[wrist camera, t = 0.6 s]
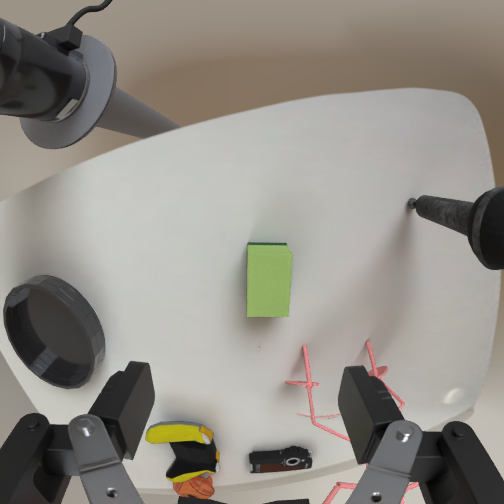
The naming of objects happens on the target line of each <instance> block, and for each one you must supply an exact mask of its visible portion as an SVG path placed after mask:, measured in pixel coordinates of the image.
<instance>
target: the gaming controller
mask: <svg viewBox="0 0 504 504" xmlns="http://www.w3.org/2000/svg"><path fill="white" fill-rule="evenodd" d="M212 437H213V432H212V431H211V430H209V429H207V428H206V427H204V426H203V425H202V424H197V423H192V422H184V421H175V422H159V423H157V424H154V425H152V426H150V427H149V429H148V430H147V432H146V437H145V440H146V441H148V442H150V443H152V444H156V443H166V442H169V443H170V445H171V447H172V449H173V451H174V453H175V455H176V458H175V460H174V462H173V463H172V465H171V466H170V467H169V469H168V470H167V472H166V477H167V479H169V480H170V481H172V482H174V483H176V482H184V481H186V480H189V479H191V478H193V477H196V476H198V475H200V474H203V473H205V472H210V473H216V472H219V471H220V468H219V465H218V462H219V452H218V451H217V450H216V447H215V444H214V441H213V438H212Z"/></svg>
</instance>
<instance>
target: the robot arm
mask: <svg viewBox="0 0 504 504" xmlns="http://www.w3.org/2000/svg"><path fill="white" fill-rule="evenodd" d="M111 1H112V0H105V1H104V2H103V3H102V4H101V5H99V6H88V7H86V8H84V9H82V10H80V11H79V12H77V13H76V14H75V15H74V16H73V17H72V18H71V19H70V21H69V22H68V23H67V24H66V26H64V27H61V28H58V29H55V30H53V31H50V32H42V33H39V34H37V35H34V34H32V33H30V32H28V31H26V30H24V29H22V28H20V27H18V26H16V25H14V24H12V23H10V22H8V21H6V20H4V19H2V18H0V115H8V116H15V117H22V118H28V119H35V120H39V121H44V122H48V123H58V122H61V121H64V120H66V119H67V118H69V117H70V116H72V115H73V114H74V113H75V112H76V111H77V110H78V108H79V107H80V106H81V104H82V103H83V101H84V99H85V97H86V95H87V92H88V88H89V83H90V74H89V70H88V67H87V65H86V64H85V62H84V61H83V54H82V53H80V52H78V51H77V50H75V49H78V48H80V44H81V39H82V32H81V31H80V30H79V29H78V28H76V27H75V26H74V24H75V23H76V21H77V20H78V19H79V18H80V17H82V16H83V15H84V14H86V13H88V12H98V11H101V10H103V9H104V8H106V7H107V6H108V5H109V4H110V3H111ZM154 400H155V391H154V386H153V381H152V375H151V370H150V365H149V363H145V362H136V361H130V362H129V364H128V366H127V367H126V369H125V371H118V372H116V373H115V374H114V375H112V376H111V377H110V378H109V380H108V381H107V383H106V384H105V386H104V388H103V389H102V391H101V393H100V394H99V396H98V397H97V399H96V401H95V402H94V404H93V406H92V407H91V409H90V411H89V412H88V414H84V415H80V416H77V417H75V418H74V419H72V420H71V422H70V423H69V425H55V424H50V423H49V421H48V419H47V418H46V417H45V416H44V415H42V414H39V413H31V414H27V415H25V416H24V417H22V418H21V419H20V420H19V422H18V423H17V425H16V426H15V428H14V429H13V430H12V432H11V434H10V435H9V436H8V438H7V440H6V441H5V443H4V444H3V446H2V447H1V449H0V504H61V502H62V499H63V497H64V494H65V492H66V489H67V487H68V484H69V482H70V479H71V476H80V479H81V481H82V484H83V487H84V490H85V492H86V495H87V497H88V500H89V502H90V504H144V502H143V501H142V499H141V497H140V495H139V494H138V492H137V490H136V488H135V487H134V485H133V483H132V481H131V479H130V477H129V475H128V474H127V472H126V470H125V468H124V466H123V464H122V461H123V458H125V459H130V460H133V459H134V456H135V453H136V450H137V448H138V445H139V442H140V439H141V437H142V434H143V431H144V429H145V426H146V423H147V421H148V418H149V415H150V413H151V410H152V408H153V405H154ZM338 406H339V410H340V413H341V416H342V419H343V421H344V424H345V427H346V430H347V433H348V436H349V439H350V442H351V445H352V448H353V451H354V454H355V457H356V460H357V463H358V465H359V464H365V463H368V466H367V468H366V470H365V472H364V473H363V475H362V477H361V479H360V480H359V482H358V484H357V486H356V487H355V489H354V491H353V492H352V494H351V496H350V497H349V499H348V500H347V502H346V504H400V503H401V501H402V499H403V496H404V494H405V491H406V489H407V487H408V484H409V482H418V484H419V487H420V489H421V492H422V495H423V498H424V500H425V503H426V504H504V480H503V478H502V477H501V475H500V473H499V472H498V470H497V468H496V467H495V465H494V463H493V461H492V460H491V458H490V456H489V455H488V453H487V452H486V450H485V448H484V447H483V445H482V443H481V442H480V440H479V439H478V437H477V436H476V434H475V433H474V431H473V429H472V428H471V427H470V426H469V425H467V424H466V423H463V422H460V421H453V422H449V423H447V424H446V425H445V426H444V428H443V430H442V432H426V431H422V430H421V428H420V427H419V426H418V425H417V424H415V423H414V422H411V421H407V420H405V419H404V417H403V415H402V414H401V412H400V410H399V408H398V407H397V405H396V403H395V401H394V400H393V398H392V396H391V394H390V393H389V392H388V389H387V388H386V386H385V384H384V382H382V381H381V380H380V379H378V378H377V377H376V376H369V374H368V372H367V371H366V369H365V367H364V366H363V365H362V366H350V367H345V369H344V372H343V377H342V381H341V386H340V390H339V395H338ZM178 504H225V503H221V502H218V501H214V500H211V499H199V498H190V497H181V496H179V499H178ZM265 504H309V499H298V500H284V501H283V500H281V501H274V502H269V503H265Z"/></svg>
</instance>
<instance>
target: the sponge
mask: <svg viewBox="0 0 504 504" xmlns="http://www.w3.org/2000/svg"><path fill="white" fill-rule="evenodd" d="M291 271H292V253H291V251H290V249H289V247H288V245H287V243H248V250H247V317H288V316H289V303H290V288H291Z"/></svg>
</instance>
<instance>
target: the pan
mask: <svg viewBox="0 0 504 504" xmlns="http://www.w3.org/2000/svg"><path fill="white" fill-rule="evenodd" d="M3 316H4V326H5V329H6V332H7V335H8V339H9V341H10V343H11V345H12V347H13V348H14V350H15V352H16V354H17V355H18V357H19V358H20V359H21V360H22V362H23V363H24V364H25V365H26V366H27V368H28V369H29V370H31V371H32V372H33V373H34V374H35V375H37V376H38V377H39V378H40V379H42V380H44V381H46V382H47V383H49V384H51V385H53V386H57V387H61V388H65V389H73V388H80V387H81V386H83V385H85V384H86V383H88V382H89V381H90V379H91V378H92V376H93V375H94V373H95V372H96V370H97V368H98V367H99V365H100V364H101V362H102V360H103V357H104V352H105V339H104V334H103V330H102V327H101V324H100V322H99V319H98V317H97V315H96V313H95V312H94V310H93V309H92V307H91V306H90V304H89V303H88V302H87V300H86V299H85V298H84V297H83V296H82V295H81V294H80V293H79V292H78V291H77V290H76V289H75V288H74V287H72V286H71V285H70V284H68V283H67V282H65V281H63V280H61V279H59V278H56V277H53V276H48V275H39V276H35V277H32V278H30V279H28V280H26V281H24V282H22V283H21V284H19V285H18V286H16V287H14V288H13V289H12V290H11V292H10V293H9V294H8V296H7V297H6V300H5V304H4V309H3Z"/></svg>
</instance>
